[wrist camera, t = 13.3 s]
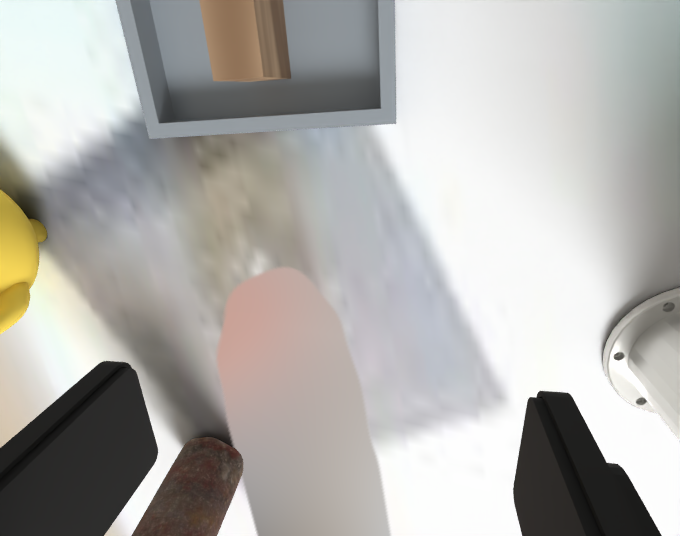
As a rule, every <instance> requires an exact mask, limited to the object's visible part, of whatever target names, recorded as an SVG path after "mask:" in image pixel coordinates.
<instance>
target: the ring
mask: <svg viewBox="0 0 680 536" xmlns="http://www.w3.org/2000/svg"><path fill="white" fill-rule="evenodd" d="M199 1H200V7H201V13H202V19H203V24H204V30H205V36H206V41H207V47H208V53H209V58H210V64H211V70H212V75H213V81H235V82H255V81H267V80H280V79H291V71H290V61H289V52H288V43H287V33H286V24H285V14H284V5H283V0H199Z"/></svg>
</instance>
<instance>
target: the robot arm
mask: <svg viewBox="0 0 680 536" xmlns="http://www.w3.org/2000/svg"><path fill="white" fill-rule="evenodd" d="M603 367H604V371H605V375H606V377H607V379H608V381H609V383H610V384H611V386H612V387H613V388H614V390H615V391H616V392H617V394H618V395H619V396H621V397H622V398H623V399H624V400H625V401H626V402H628V403H629V404H631V405H633V406H635V407H637V408H639V409H642V410H645V411H648V412H652V413H657V414H658V415H659V416H660V418H661V419H662V420H663V422H664V423H665V424H666V425H667V427H668V428H669V429H670V430H671V432H672V433H673V434H674V435H675V437H676V438H677V439H678V440H679V442H680V288H677V289H673V290H670V291H667V292H663V293H661V294H659V295H657V296H654V297H652V298H650V299H648V300H646V301H645V302H643V303H641V304H640V305H638V306H637V307H635V308H634V309H632V310H631V311H630V312H629V313H628V314H627V315H626V316H625V317H623V318H622V319H621V320H620V322H619V323H618V324H617V325H616V327H615V328H614V329H613V331H612V332H611V334H610V336H609V338H608V340H607V342H606V345H605V349H604V352H603ZM157 455H158V447H157V444H156V440H155V437H154V433H153V430H152V426H151V423H150V419H149V415H148V412H147V408H146V405H145V401H144V398H143V394H142V390H141V387H140V383H139V380H138V376H137V373H136V371H135V370H134V369H132V367H131V365H129V364H128V363H125V362H113V361H104V362H101V363H100V364H98V365H97V366H96V367H95V368H94V369H92V370H91V371H90V372H89V373H88V374H87V375H85V376H84V377H83V378H82V379H81V380H80V381H78V382H77V383H76V384H75V385H74V386H73V387H71V388H70V389H69V390H68V391H67V392H65V393H64V394H63V395H62V396H61V397H60V398H58V399H57V400H56V401H55V402H54V403H53V404H51V405H50V406H49V407H48V408H47V409H46V410H44V411H43V412H42V413H41V414H40V415H39V416H37V417H36V418H35V419H34V420H33V421H32V422H30V423H29V424H28V425H27V426H26V427H25V428H23V429H22V430H21V431H20V432H19V433H18V434H16V435H15V436H14V437H13V438H12V439H11V440H9V441H8V442H7V443H6V444H5V445H4V446H2V447H1V448H0V536H104V535H105V533H106V532H107V531H108V529H109V528H110V526H111V525H112V523H113V522H114V521H115V519H116V518H117V516H118V515H119V513H120V512H121V511H122V509H123V508H124V506H125V505H126V503H127V502H128V501H129V499H130V498H131V496H132V495H133V494H134V492H135V491H136V489H137V488H138V486H139V485H140V484H141V482H142V481H143V479H144V478H145V476H146V475H147V474H148V472H149V471H150V469H151V468H152V466H153V465H154V463H155V461H156V459H157ZM513 494H514V503H515V508H516V512H517V516H518V520H519V524H520V528H521V532H522V536H661V534H660V532H659V530H658V529H657V527H656V525H655V523H654V521H653V520H652V518H651V516H650V514H649V512H648V511H647V509H646V507H645V505H644V504H643V502H642V500H641V498H640V496H639V495H638V493H637V491H636V489H635V488H634V486H633V484H632V482H631V480H630V479H629V477H628V475H627V474H626V472H625V471H624V470H623V468H622V467H620V466H619V465H618V464H612V463H606V461H605V459H604V457H603V455H602V453H601V451H600V449H599V447H598V445H597V443H596V442H595V440H594V438H593V436H592V434H591V432H590V430H589V428H588V426H587V424H586V423H585V421H584V419H583V417H582V415H581V413H580V411H579V409H578V407H577V405H576V403H575V402H574V400H573V398H572V396H571V395H570V394H569V393H563V392H548V391H539V392H538V394H537V398H534V397H530V398H529V399H528V402H527V408H526V414H525V420H524V426H523V432H522V439H521V445H520V451H519V457H518V463H517V469H516V475H515V481H514V488H513Z"/></svg>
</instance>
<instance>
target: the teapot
mask: <svg viewBox="0 0 680 536" xmlns="http://www.w3.org/2000/svg"><path fill="white" fill-rule="evenodd" d="M46 238H47V231H46V228H45V227H44V225H43V224H42V223H41V222H39V221H38V220H35V219H28V218H27V216H26V215H25V213H24V212H23V211H22V209H21V208H20V207H19V206H18V205H17V204H16V203H15V202H14V201H13V200H12V199H11V198H10V197H9V196H8V195H7V194H6V193H4V192H3V191H2V190H0V334H1V333H3V332H4V331H6V330H7V329H9V328H10V327H11V326H12V325H14V324H15V323H16V322H17V321H18V320H19V319H20V318H21V317H22V316H23V315H24V313H25V312H26V310H27V308H28V305H29V301H30V293H29V289H30V288H31V286H32V285H33V283H34V281H35V278H36V276H37V271H38V266H39V247H38V242H43V241H45V240H46Z"/></svg>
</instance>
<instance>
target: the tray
mask: <svg viewBox="0 0 680 536" xmlns="http://www.w3.org/2000/svg"><path fill="white" fill-rule="evenodd" d="M116 4H117V8H118V12H119V16H120V20H121V25H122V29H123V33H124V37H125V41H126V45H127V49H128V53H129V57H130V61H131V65H132V70H133V74H134V78H135V82H136V86H137V90H138V94H139V98H140V102H141V106H142V110H143V115H144V119H145V123H146V127H147V131H148V135H149V139H153V138H169V137H186V136H202V135H218V134H234V133H251V132H267V131H283V130H299V129H316V128H332V127H348V126H364V125H381V124H396V73H395V0H283V5H284V14H285V24H286V33H287V43H288V52H289V61H290V71H291V79H280V80H267V81H255V82H235V81H213V75H212V70H211V64H210V58H209V53H208V47H207V41H206V36H205V30H204V24H203V19H202V13H201V7H200V1H199V0H116Z"/></svg>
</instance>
